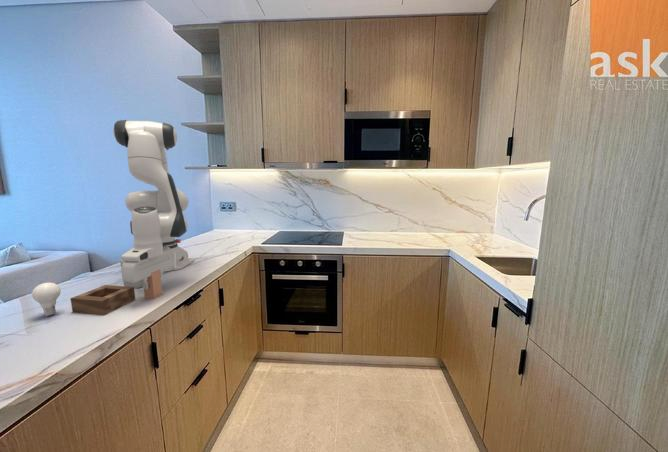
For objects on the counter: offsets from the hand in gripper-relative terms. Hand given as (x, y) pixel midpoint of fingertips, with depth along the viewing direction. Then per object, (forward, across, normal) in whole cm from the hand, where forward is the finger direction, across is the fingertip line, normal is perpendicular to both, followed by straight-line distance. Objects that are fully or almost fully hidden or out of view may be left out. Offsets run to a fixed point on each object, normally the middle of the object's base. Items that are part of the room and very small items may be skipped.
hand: (152, 285), depth 103 cm
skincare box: (+4, -7, -15) cm, 17 cm away
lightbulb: (+4, +19, -21) cm, 28 cm away
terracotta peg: (+4, 0, 0) cm, 4 cm away
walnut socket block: (+4, +10, -10) cm, 15 cm away
